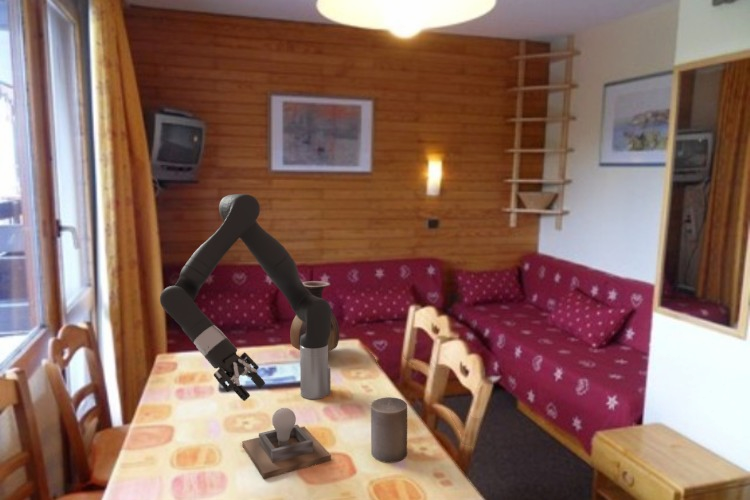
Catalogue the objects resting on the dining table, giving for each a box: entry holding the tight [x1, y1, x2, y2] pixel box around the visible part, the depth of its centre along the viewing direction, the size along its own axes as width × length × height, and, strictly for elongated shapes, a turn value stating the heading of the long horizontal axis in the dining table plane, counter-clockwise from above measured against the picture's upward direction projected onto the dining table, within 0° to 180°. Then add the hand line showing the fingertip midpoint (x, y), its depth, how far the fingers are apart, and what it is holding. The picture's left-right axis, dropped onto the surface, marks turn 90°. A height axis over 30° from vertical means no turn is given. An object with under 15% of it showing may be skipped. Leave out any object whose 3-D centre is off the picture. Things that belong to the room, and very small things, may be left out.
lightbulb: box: [271, 407, 297, 447], centre depth 143 cm, size 6×6×11 cm
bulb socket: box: [241, 424, 332, 480], centre depth 144 cm, size 18×18×4 cm
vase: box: [289, 280, 340, 352], centre depth 217 cm, size 23×19×30 cm
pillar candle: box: [370, 396, 408, 463], centre depth 144 cm, size 10×10×15 cm
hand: (255, 392), depth 144 cm, fingers open, 8 cm apart
